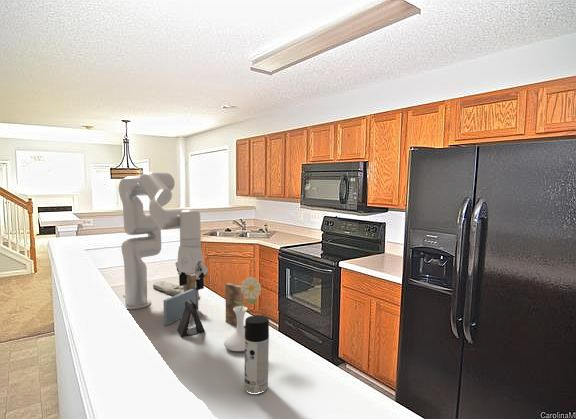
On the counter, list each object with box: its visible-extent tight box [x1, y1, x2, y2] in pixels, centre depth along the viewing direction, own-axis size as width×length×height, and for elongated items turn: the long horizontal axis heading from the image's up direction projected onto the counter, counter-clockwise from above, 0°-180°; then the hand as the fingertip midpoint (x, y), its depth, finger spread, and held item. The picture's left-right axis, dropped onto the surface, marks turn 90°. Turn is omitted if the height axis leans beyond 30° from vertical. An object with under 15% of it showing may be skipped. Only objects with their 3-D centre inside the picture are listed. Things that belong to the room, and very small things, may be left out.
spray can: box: [243, 315, 270, 393], centre depth 96 cm, size 7×7×20 cm
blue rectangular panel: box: [163, 287, 200, 326], centre depth 146 cm, size 20×2×10 cm, turn 155°
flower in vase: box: [223, 276, 262, 352], centre depth 120 cm, size 13×11×25 cm
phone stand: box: [177, 300, 206, 339], centre depth 132 cm, size 9×6×12 cm, turn 121°
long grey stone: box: [152, 280, 200, 297], centre depth 180 cm, size 35×5×10 cm
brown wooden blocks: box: [184, 273, 244, 326], centre depth 148 cm, size 35×2×16 cm, turn 55°
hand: (191, 287), depth 131 cm, fingers open, 9 cm apart
